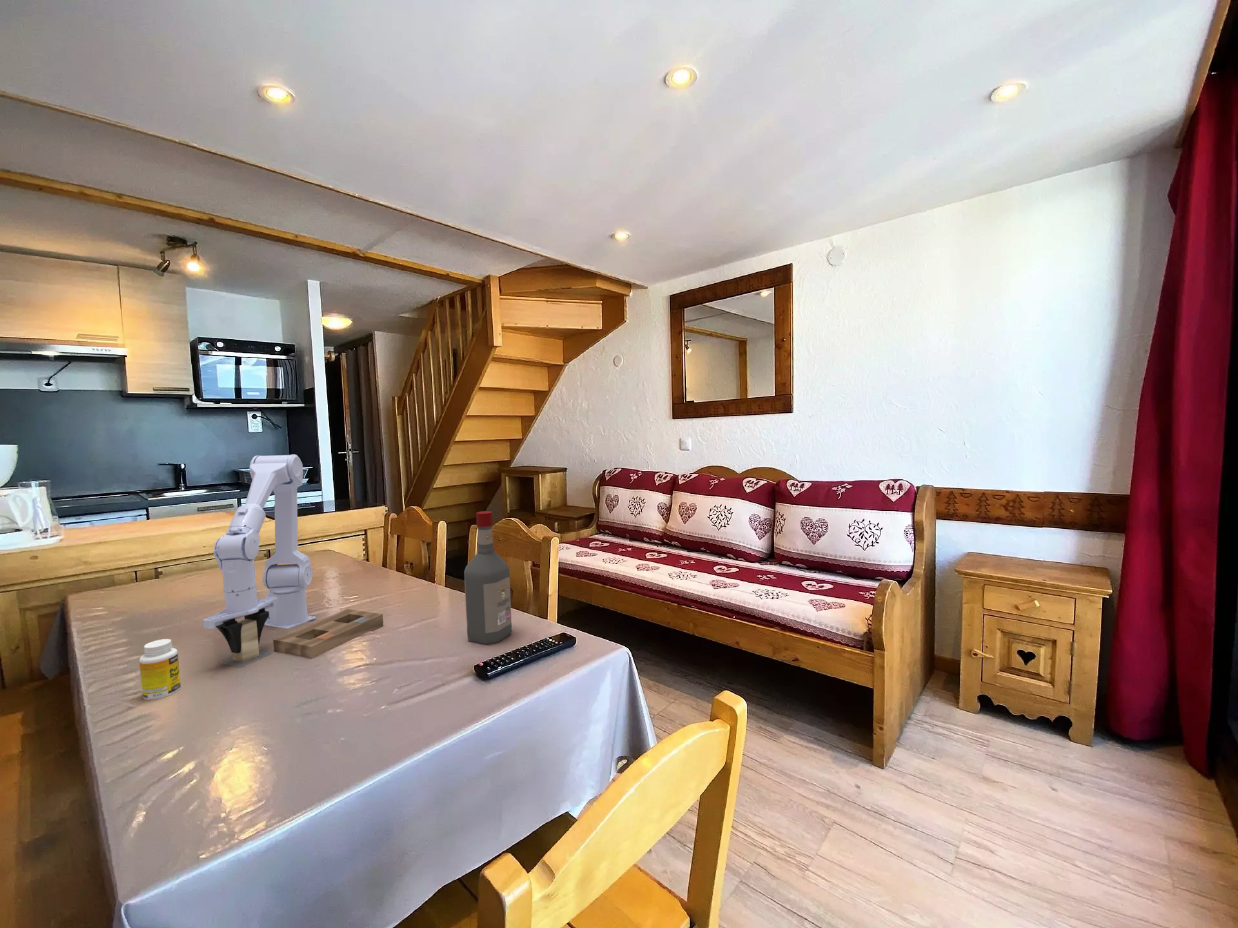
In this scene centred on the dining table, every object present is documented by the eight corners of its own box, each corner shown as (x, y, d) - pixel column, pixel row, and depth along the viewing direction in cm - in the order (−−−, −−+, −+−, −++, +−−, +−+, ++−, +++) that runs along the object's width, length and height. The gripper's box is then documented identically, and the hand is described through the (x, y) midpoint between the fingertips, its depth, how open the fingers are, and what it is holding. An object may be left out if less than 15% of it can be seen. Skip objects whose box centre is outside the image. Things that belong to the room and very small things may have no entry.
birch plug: (233, 659, 113) (229, 624, 113) (248, 653, 117) (246, 618, 116) (243, 662, 112) (240, 626, 111) (259, 655, 115) (256, 620, 115)
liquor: (516, 631, 126) (511, 510, 124) (492, 646, 118) (487, 516, 116) (486, 626, 130) (481, 508, 128) (461, 640, 122) (455, 514, 119)
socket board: (274, 652, 118) (273, 639, 117) (348, 619, 136) (347, 608, 136) (312, 659, 113) (311, 646, 113) (383, 625, 132) (382, 613, 132)
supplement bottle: (176, 697, 99) (171, 645, 98) (138, 704, 96) (132, 651, 96) (185, 684, 104) (180, 634, 103) (149, 690, 101) (144, 640, 101)
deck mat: (218, 664, 112) (218, 662, 112) (251, 650, 119) (251, 648, 119) (240, 668, 110) (240, 667, 110) (272, 654, 116) (272, 653, 116)
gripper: (216, 601, 105) (222, 665, 106) (285, 580, 118) (289, 637, 119) (194, 597, 107) (200, 660, 108) (263, 577, 121) (268, 633, 122)
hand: (245, 648), depth 114 cm, fingers closed on birch plug, 3 cm apart
